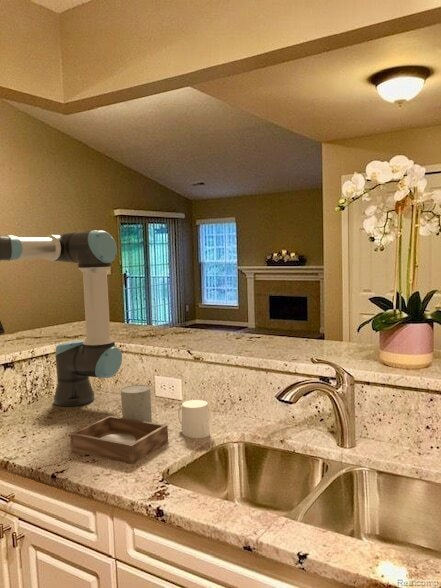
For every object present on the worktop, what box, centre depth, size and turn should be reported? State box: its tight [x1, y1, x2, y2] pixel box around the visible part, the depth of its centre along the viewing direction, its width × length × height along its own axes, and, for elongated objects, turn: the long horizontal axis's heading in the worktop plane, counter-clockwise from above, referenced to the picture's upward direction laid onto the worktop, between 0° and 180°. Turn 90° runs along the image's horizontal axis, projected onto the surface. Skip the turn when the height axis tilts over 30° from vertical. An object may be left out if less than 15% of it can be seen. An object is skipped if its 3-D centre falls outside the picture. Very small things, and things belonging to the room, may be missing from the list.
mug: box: [177, 399, 211, 439], centre depth 153 cm, size 12×9×8 cm
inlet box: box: [69, 415, 169, 465], centre depth 144 cm, size 17×22×5 cm
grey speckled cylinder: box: [120, 384, 153, 423], centre depth 161 cm, size 10×10×12 cm
